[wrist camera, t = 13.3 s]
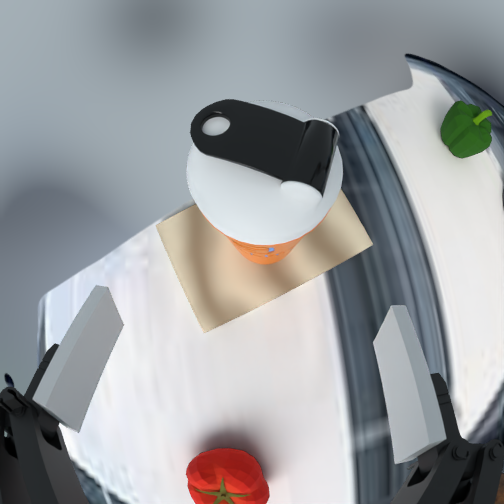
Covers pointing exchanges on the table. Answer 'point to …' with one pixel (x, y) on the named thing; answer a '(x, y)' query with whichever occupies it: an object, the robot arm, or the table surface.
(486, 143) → the bell pepper
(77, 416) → the robot arm
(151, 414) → the table surface
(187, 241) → the oak board
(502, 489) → the jug
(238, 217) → the shaker bottle
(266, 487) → the tomato
